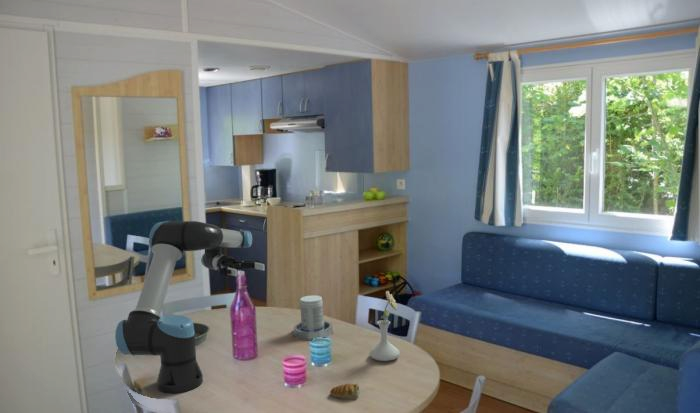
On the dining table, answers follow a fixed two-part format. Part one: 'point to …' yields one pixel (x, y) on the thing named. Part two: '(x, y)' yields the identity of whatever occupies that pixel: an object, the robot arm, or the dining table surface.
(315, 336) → the grey pet bowl
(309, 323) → the supplement tub
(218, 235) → the robot arm
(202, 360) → the dining table surface
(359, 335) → the dining table surface
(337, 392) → the pastry
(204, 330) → the cake pan
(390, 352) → the flower in vase
